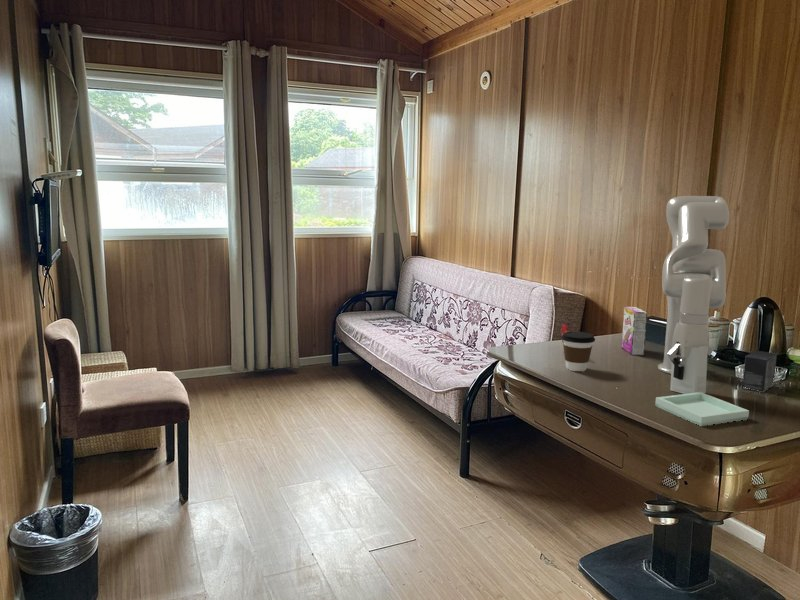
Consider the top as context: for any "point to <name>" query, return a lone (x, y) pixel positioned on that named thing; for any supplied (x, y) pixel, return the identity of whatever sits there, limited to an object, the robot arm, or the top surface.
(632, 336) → the candy bar box
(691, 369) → the skincare box
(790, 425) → the top surface
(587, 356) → the coffee cup
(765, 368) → the small box
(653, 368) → the top surface
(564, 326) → the decorative bird figurine
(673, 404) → the tray
